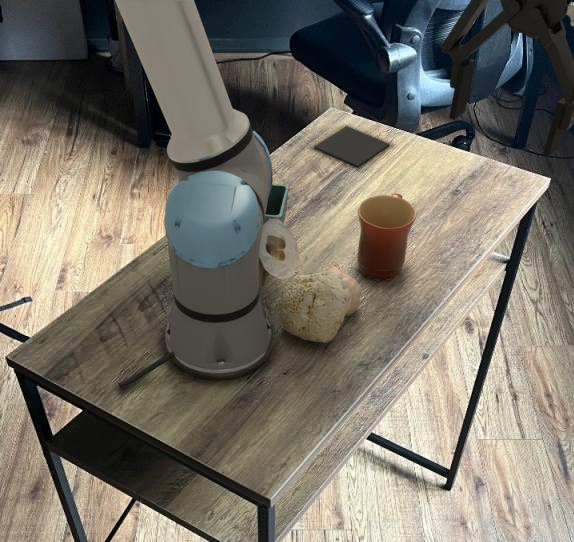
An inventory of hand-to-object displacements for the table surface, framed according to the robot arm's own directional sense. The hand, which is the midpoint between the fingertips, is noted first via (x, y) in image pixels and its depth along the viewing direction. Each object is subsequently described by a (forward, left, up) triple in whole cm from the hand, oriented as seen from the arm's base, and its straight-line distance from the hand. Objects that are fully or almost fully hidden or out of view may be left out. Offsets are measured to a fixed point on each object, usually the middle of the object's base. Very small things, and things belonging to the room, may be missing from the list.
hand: (502, 133), depth 104 cm
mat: (+26, +40, -27) cm, 54 cm away
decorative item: (-21, +10, -26) cm, 35 cm away
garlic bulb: (-17, +13, -24) cm, 32 cm away
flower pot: (-10, +33, -27) cm, 43 cm away
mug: (0, +15, -27) cm, 31 cm away
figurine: (-17, +20, -17) cm, 31 cm away
